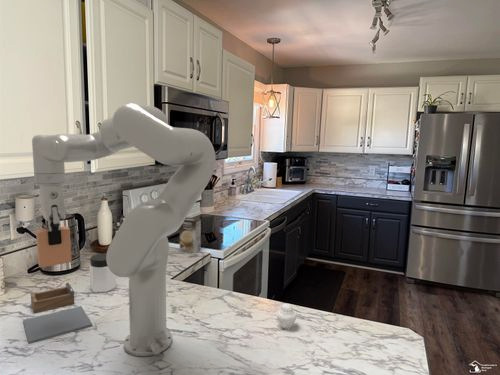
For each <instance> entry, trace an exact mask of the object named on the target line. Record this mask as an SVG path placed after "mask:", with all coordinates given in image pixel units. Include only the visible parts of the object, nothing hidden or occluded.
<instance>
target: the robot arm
mask: <svg viewBox="0 0 500 375" xmlns="http://www.w3.org/2000/svg"><path fill="white" fill-rule="evenodd" d="M31 145H32V160H33V164H32V165H33V177H34V186H36V187H39V198H40V206H41V207H40V208H41V214H42V217H43V218H44V220H45V228H44V229H47V228H49V231H48V243H49V245H57V244H61V243H62V240H61V230H60V227H61V221H60V220H61V219H62V220H66V218H67V214H66V208H65V207H66V205H65V197H64V189H63V185H66V173H65V172H66V168H65V163H74V162H90V161H95V160H99V159H102V158H105V157H109V156H112V155H115V154H116V153H119V151H123V150H125V149H130V148H135V149H137V150H138V151H140V152H141V153H143V154H145V155H146V156H148V157H150V158H151V159H153V160H154V161H157V162H158V163H160V164H163V165H166V166H179V167H178V168H177V170H176V171H175V172H174V173H173V174H172V175H171V177H170V178H169V179H168V181H166V182H167V183H166V184H165V187H164V188H163V189H162V190H161V192H160V193H159V194H158V196H157V197H155V198H153V199H152V200H147V201H144V202H141V203H139V204H137V205H136V206H134V207H133V208H132V209H130V211H129V212H128V213H127V215H126V217H125V218H124V220H123V221H122V223H121V225H120V226H119V228H118V230H117V232H116V233H115V235H114V237H113V238H112V240H111V242H110V244H109V246H108V247H107V251H106V253H107V255H106V261H107V265H108V268H109V269H110V271H111V272H112V273H113V274H115V275H116V277H120V278H129V279H128V307H129V308H128V314H129V316H128V318H129V319H128V320H129V334H128V335H127V336H126V337H125V338H124V341H123V349H124V350H125V352H126V353H128V354H129V355H132V356H136V357H148V356H154V355H156V356H158V355H159V354H161V353H162V352H163V351H165V350H167V349H168V348H169V347H170V346H171V344H172V342H173V334H172V332H171V331H169V329H167V270H168V268H167V266H168V260H169V254H170V243H169V239H168V236H170V235H172V234H174V233H175V232H177V231H178V230H180V227H181V225H182V224H183V222H184V220H185V219H186V217H188V216H189V214H190V212H191V211H192V210H193V208H194V206H195V205H196V203H197V201H198V200H199V198H200V196H201V195H202V193H203V192H204V190H205V188H206V187H207V186H208V184H209V183H210V180H211V179H212V177H213V174H214V171H215V168H216V153H215V149H214V146H213V144H212V142H211V140H210V139H209V137H208V136H207V135H205V133H204V132H202V131H199V130H197V129H193V128H186V127H174V126H171V125H169V122H168V118H167V116H166V114H165V113H164V112H163V111H162V110H161V109H159V108H157V107H156V106H153V105H146V104H142V103H135V102H129V103H125V104H122V105H121V106H119V107H118V108H117V109H116V110H115V112H114V114H113V115H112V117H108V118H107V119H104V120H103V121H102V122H101V123H100V125H99V131H97V132H92V133H89V134H77V133H75V134H74V133H73V134H71V133H70V134H69V133H67V134H66V133H59V134H58V133H57V134H36V135H33V136H32V140H31ZM60 218H61V219H60Z"/></svg>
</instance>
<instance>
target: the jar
mask: <svg viewBox="0 0 500 375" xmlns="http://www.w3.org/2000/svg"><path fill="white" fill-rule="evenodd" d="M106 255H107V252H106V253H99V254H93V255H92V256H90V258H89V264H88V265H89V287H90V290H91V291H92V293H94V294H95V293H108V292H109V291H110V292H111V290H113V289H116V287H117V280H116V278H117V276H116V275H115V274H113V273H112V272H111V271H110V269H109V268H108V265H107V261H106Z"/></svg>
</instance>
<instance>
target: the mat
mask: <svg viewBox="0 0 500 375" xmlns="http://www.w3.org/2000/svg"><path fill="white" fill-rule="evenodd" d="M22 322H23V323H22V324H23V327H24V330H25V334H26V338H27V342H28V344H33V343H36V342H39V341H43V340H47V339H51V338H54V337H58V336H61V335H65V334H68V333H73V332H76V331H79V330H82V329H88V328H90V327H93V323H92V321H91V319H90V318H89V316H88V315H87V313H86V311H85V310H84V308H83V307H82V305H79V306H76V307H71V308H68V309H63V310H60V311H55V312H51V313H47V314H43V315H39V316H35V317H30V318H26V319H23V320H22Z"/></svg>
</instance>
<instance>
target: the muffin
mask: <svg viewBox="0 0 500 375" xmlns="http://www.w3.org/2000/svg"><path fill="white" fill-rule="evenodd" d="M275 314H276V319H277V321H278V323H279V325H280V327H281V328H283V329H285V330H286V329H290V328H292V326H293V325H294V323H295V322H296V320H297V316H298V315H297V312H296V311H295V310H294V308H293V306H292V305H291V304H290V303H284V304H282V305H281V307H280V308H279V309H278V310H276V313H275Z"/></svg>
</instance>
